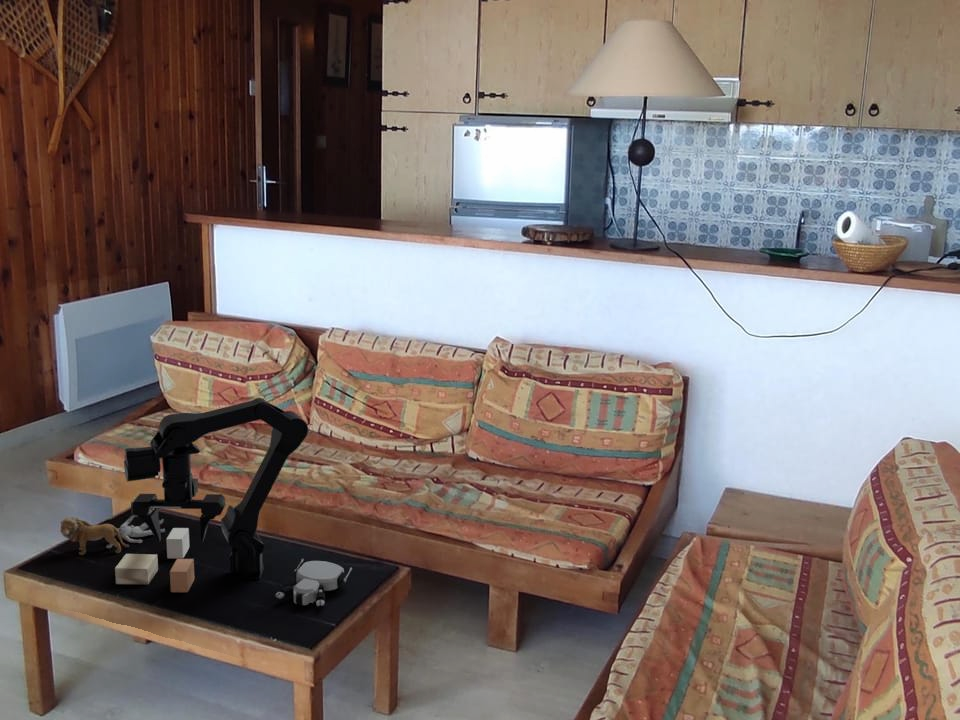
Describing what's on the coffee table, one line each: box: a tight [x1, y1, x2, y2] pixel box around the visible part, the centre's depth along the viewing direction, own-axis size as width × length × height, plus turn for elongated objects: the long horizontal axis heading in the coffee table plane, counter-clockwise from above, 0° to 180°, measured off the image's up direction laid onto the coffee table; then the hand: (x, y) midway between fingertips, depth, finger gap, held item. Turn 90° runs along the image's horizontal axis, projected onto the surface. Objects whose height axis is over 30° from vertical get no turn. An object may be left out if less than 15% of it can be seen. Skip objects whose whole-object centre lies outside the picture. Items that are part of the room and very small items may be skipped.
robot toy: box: [275, 558, 353, 607], centre depth 203 cm, size 12×4×15 cm
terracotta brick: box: [169, 558, 195, 593], centre depth 203 cm, size 4×6×5 cm, turn 3°
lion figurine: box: [59, 517, 130, 556], centre depth 217 cm, size 15×5×9 cm, turn 108°
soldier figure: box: [114, 515, 166, 544], centre depth 226 cm, size 8×5×12 cm
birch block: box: [114, 553, 159, 585], centre depth 207 cm, size 7×7×4 cm
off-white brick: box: [165, 527, 190, 559], centre depth 219 cm, size 4×6×5 cm, turn 3°
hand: (180, 541), depth 202 cm, fingers open, 9 cm apart
